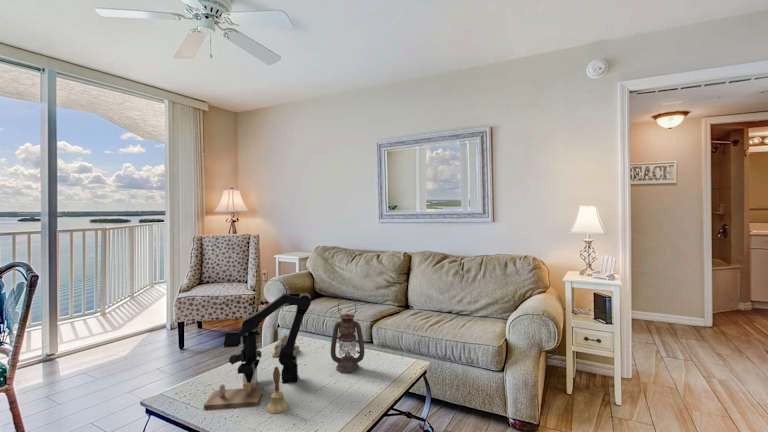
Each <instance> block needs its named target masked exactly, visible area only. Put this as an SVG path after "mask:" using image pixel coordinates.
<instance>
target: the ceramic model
mask: <svg viewBox="0 0 768 432" xmlns="http://www.w3.org/2000/svg"><path fill="white" fill-rule="evenodd" d="M287 338H288V334H285V335H283V337H281V338H280V340H279V341H278V342H277V343H276V345H274V348H273V349H274V352H273V353H272V355H271V357H272V358H277V359H279V357H278V351H279V350H280V348H281V344H285V342H286V341H287ZM296 344H297V342H296V341H295V344H294V350H293V355H296V354H297V353H298V352H299V351H300V346H299V345H296Z"/></svg>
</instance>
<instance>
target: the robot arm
mask: <svg viewBox="0 0 768 432" xmlns="http://www.w3.org/2000/svg"><path fill="white" fill-rule="evenodd" d="M311 299H312V298H311V296H310V294H309V293H308V292H302V293H294V292H293V293H291V292H283V293H282V294H281V295H280V296H278V297H277V298H276V299H274V300H273V301H271V302H270V303H269V304H267V305H266V306H264V307H263V308H262V309H260V310H258V311H255V312H253V313H251V314H249V315H247V316H246V317H245V318H244V319H243V321H242V323H241V324H242V326H241V327H240V328H239V330H232V331H231V330H228V331H227V330H226V331H225V333H224V334H225V335H224V340H223V347H224V348H225V349H228V348H239V347H240V345H242V349H241V350H240V351H237V352H234V353H232V354H231V355H230V356H229V357H228V363H230V365H232V366H233V365H234V364H236V363H239V362H240V364H239V366H238V368H237V374H242V375H243V373H244V374H245V377H246V380H247V383H251V380H252V377H253V374H254V371H255V368H257V369H258V366H259V364H260V359H262V351H261V350H258V348H259V346H258V342H257V341H258V338H257V336H258V337H259V336H261V334H262V331H261V330H260V329H258V328H257V327H258V326H259V325H260V324H261V323H262V322H263V321H264V320H265V319H266V318H268V317H269V316H270V315H272V314H273V313H275V312H276V311H277V310H278V309H280V308H281V307H283V306H284V305H285V304H289V305H291V306H292V305H293V306H296V310H295V314H294V316H293V320H292V324H291V326H290V329H289V333H288V334H287V336H288V338H287V341H286V342H285V344H281V348H280V350H279V351H278V357H279V358H278V362H279V365H282V369H281V380H282V381H281V383H282V384H285V383H297V382H298V379H299V368H298V367H299V366H298V359H297V356H296V354H294V355H293V350H294V344H295V342H296V340H297V337H298V334H299V331H300V328H301V325H302V322H303V319H304V316H305V314H306V313H307V312H308V310H309V308H310V306H311V303H312V300H311ZM295 345H296V344H295Z"/></svg>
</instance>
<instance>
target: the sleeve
mask: <svg viewBox="0 0 768 432" xmlns="http://www.w3.org/2000/svg"><path fill="white" fill-rule="evenodd" d="M246 383H247V380H246V377H245V374H244V373H242V387H243V388H245V385H246ZM257 383H258V367H257V368H255V371H254V374H253V377H252V380H251V383H250V385H251V388H255V387H256V386H257Z"/></svg>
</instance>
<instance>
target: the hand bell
mask: <svg viewBox="0 0 768 432" xmlns="http://www.w3.org/2000/svg"><path fill="white" fill-rule="evenodd" d="M272 379H273V383H274V392H273V393H272V394H271V395H270V401H269V403H268V405H267V406H266V408H265V410H266V412H267V413H268V414H272V415H274V414H275V415H276V414H281V413H283V412H286V411H287V410H288V408H289V404H288V403H287V402H286V400H285V398H284V393H283V392H282V391H280V379H281V371H280V370H279V366H274V369H273V373H272Z"/></svg>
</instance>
